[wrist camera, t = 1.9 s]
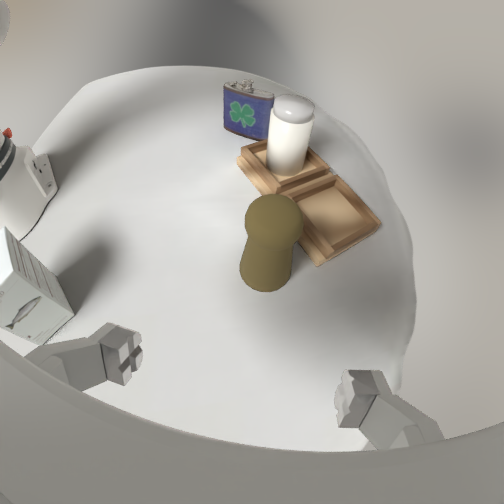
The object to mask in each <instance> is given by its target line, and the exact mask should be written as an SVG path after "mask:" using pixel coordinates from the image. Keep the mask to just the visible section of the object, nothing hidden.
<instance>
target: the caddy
mask: <svg viewBox="0 0 504 504" xmlns="http://www.w3.org/2000/svg"><path fill="white" fill-rule="evenodd" d="M267 142H268V139H266V140H263V141H259V142H256V143H253V144H250V145H247V146H243V147H241V155H242V156H239V157H237V165H238V166H239V168H240V169H241V170H242V171H243V172H244V174H245V175H246V176H247V177H248V179H249V180H250V181H251V182H252V183H253V185H254V186H255V187H256V188H257V190H258V191H259V192H260V193H261V195H262V196H263V195H267V194H280V195H284V196H287V197H288V198H290V199H292V200H293V201H294V202H295V203H296V204H297V205H298V206H299V208H300V210H301V212H302V214H303V220H304V226H303V230H302V233H301V236H300V237H299V239H298V240H297V241H298V242H299V244H300V245H301V246H302V248H303V249H304V250H305V252H306V253H307V254H308V256H309V257H310V258H311V260H312V261H313V262H314V264H315V265H316V266H317V267H318V266H320V265H321V264H323V263H325V262H327V261H328V260H330V259H332V258H333V257H335V256H337V255H338V254H340V253H342V252H343V251H345V250H347V249H348V248H350V247H352V246H353V245H355V244H356V243H358V242H360V241H361V240H363V239H365V238H366V237H368V236H369V235H371V234H373V233H374V232H376V230H377V229H378V227H379V226H380V224H381V221H380V220H379V219H378V218H377V217H376V216H375V214H374V213H373V212H372V211H371V210H370V209H369V208H368V207H367V205H366V204H365V203H364V202H363V201H362V200H361V199H360V198H359V197H358V196H357V194H356V193H355V192H354V191H353V190H352V189H351V188H350V187H349V186H348V185H347V184H346V183H345V182H344V181H343V180H342V179H341V178H340V177H339V176H338V175H333V174H332V173H331V172H330V171H329V169H330V167H329V166H328V165H327V164H326V163H325V162H324V161H323V160H322V159H321V158H320V157H319V156H318V155H317V154H316V153H315V152H314V151H313V150H312V149H310V148H309V147H308V148H307V152H306V156H305V160H304V165H303V169H302V171H301V172H300V173H299V174H297V175H295V176H291V177H283V176H279V175H276V174H274V173H272V172H271V171H270V170H269V169H268V168H267V167H266V163H265V161H266V151H267Z"/></svg>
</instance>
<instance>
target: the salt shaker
mask: <svg viewBox="0 0 504 504" xmlns="http://www.w3.org/2000/svg"><path fill="white" fill-rule="evenodd" d="M313 112H314V104H313V103H312V102H311V101H310V100H308V99H306V98H304V97H301V96H298V95H291V94H286V95H280V96H278V97H276V98H275V100H274V107H273V108H272V109H271V114H270V123H269V133H268V142H267V151H266V161H265V163H266V167H267V168H268V169H269V170H270V171H271V172H272V173H274V174H276V175H279V176H283V177H291V176H295V175H297V174H299V173H300V172H301V171H302V169H303V165H304V160H305V156H306V152H307V148H308V144H309V140H310V136H311V131H312V127H313V123H314V114H313Z"/></svg>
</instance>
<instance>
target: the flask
mask: <svg viewBox="0 0 504 504" xmlns="http://www.w3.org/2000/svg"><path fill="white" fill-rule="evenodd" d="M249 80H250V81H249ZM249 80H243V81H242V83H243V84H242V85H241V84H239V83H237V81H235V82H228V83H225V84H224V86H223V87H224V128H225V129H226V130H228V131H230V132H232V133H234V134H236V135H240V136H243V137H246V138H249V139H253V140H256V141H263V140H266V139H268V133H269V123H270V114H271V109H272V108H273V104H274V100H275V99H274V94H273V93H270V92H266V91H261V90H257V89H253V88H251V87H252V83H254V81H253V80H252V79H249Z"/></svg>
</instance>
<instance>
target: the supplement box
mask: <svg viewBox="0 0 504 504" xmlns="http://www.w3.org/2000/svg"><path fill="white" fill-rule="evenodd" d="M74 315H75V314H74V312H73V310H72V308H71V306H70V305H69V303H68V301H67V299H66V297H65V295H64V292H63V290H62V288H61V286H60V284H59V282H58V280H57V278H56V276H55V275H54V274H53V273H52V272H50V271H49V270H48V269H47V268H46V267H45V266H44V265H43V264H42V263H41V262H40V261H39V260H38V259H37V258H35V257H34V256H33V255H32V254H31V253H30V252H29V251H28V250H27V249H26V248H25V247H24V246H23V245H22V244H21V243H20V242H19V241H18V240H17V239H16V238H15V237H14V236H13V234H12V233H11V232H10V231H9V230H8V229H7V227H6V226H4V227H2V228H1V229H0V327H1V328H3V329H5V330H7V331H9V332H11V333H13V334H15V335H17V336H19V337H21V338H24V339H26V340H28V341H30V342H33V343H35V344H37V345H40V346H42V345H43V344H44V343H45V342H46V341H47V340H48V339H49V338H50V337H51V336H52V335H53V334H54V333H55V332H56V331H57V330H58V329H59V328H60V327H61V326H63V325H64V324H65V323H66V322H67V321H68V320H69V319H71V318H72V317H73V316H74Z"/></svg>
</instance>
